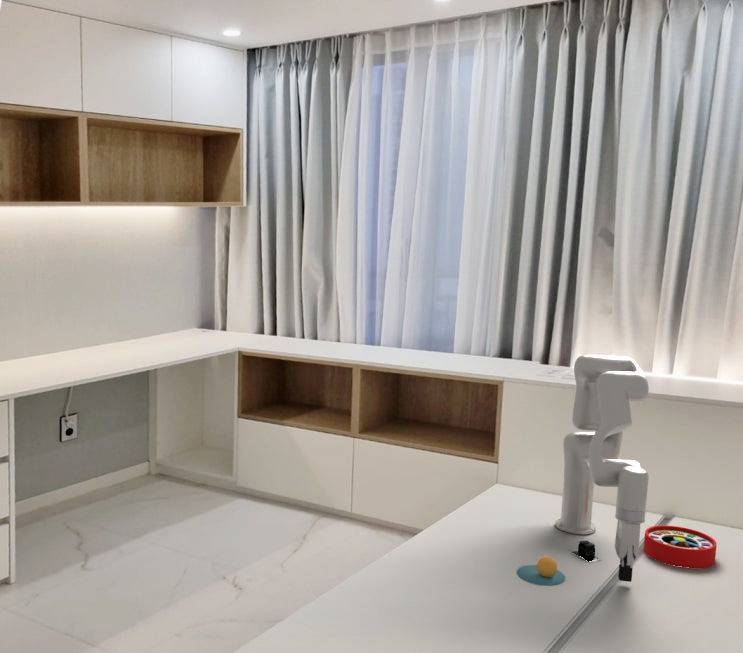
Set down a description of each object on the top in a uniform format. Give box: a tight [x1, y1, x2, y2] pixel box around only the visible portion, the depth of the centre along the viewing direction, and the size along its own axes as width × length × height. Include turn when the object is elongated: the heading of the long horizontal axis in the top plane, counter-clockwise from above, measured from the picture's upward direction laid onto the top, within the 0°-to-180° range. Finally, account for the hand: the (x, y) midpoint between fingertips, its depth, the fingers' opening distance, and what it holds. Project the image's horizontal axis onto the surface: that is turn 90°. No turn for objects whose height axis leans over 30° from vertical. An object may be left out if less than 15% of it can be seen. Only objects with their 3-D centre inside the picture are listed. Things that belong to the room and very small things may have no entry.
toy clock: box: [642, 524, 717, 569], centre depth 234 cm, size 20×6×20 cm
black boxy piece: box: [571, 540, 599, 563], centre depth 230 cm, size 12×7×5 cm, turn 24°
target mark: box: [516, 564, 566, 586], centre depth 214 cm, size 13×13×1 cm
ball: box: [536, 555, 558, 577], centre depth 214 cm, size 6×6×6 cm
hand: (624, 579), depth 210 cm, fingers closed
